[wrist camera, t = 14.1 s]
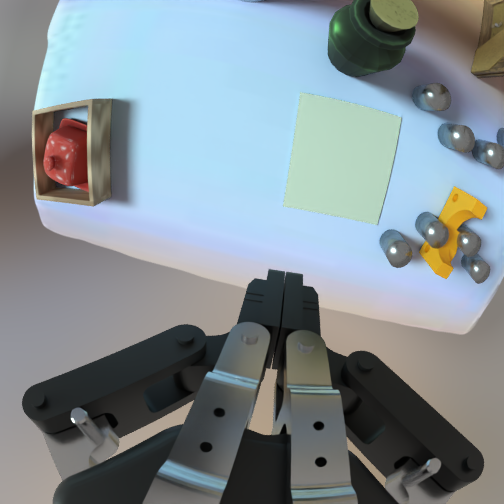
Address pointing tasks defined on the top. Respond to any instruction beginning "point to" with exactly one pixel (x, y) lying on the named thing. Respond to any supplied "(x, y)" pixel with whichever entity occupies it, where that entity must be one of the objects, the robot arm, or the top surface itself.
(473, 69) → the picture frame
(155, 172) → the top surface
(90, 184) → the frame
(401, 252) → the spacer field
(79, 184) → the butter dish
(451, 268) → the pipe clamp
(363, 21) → the potion bottle
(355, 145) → the pad
